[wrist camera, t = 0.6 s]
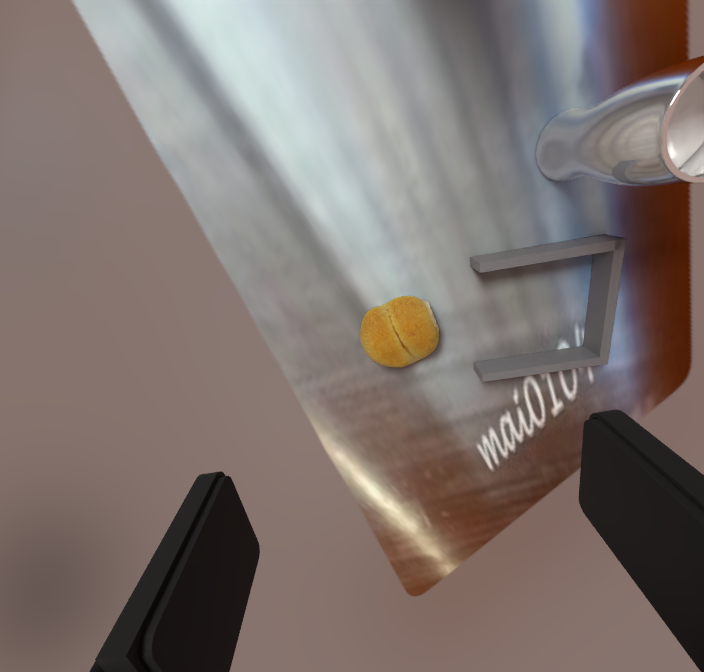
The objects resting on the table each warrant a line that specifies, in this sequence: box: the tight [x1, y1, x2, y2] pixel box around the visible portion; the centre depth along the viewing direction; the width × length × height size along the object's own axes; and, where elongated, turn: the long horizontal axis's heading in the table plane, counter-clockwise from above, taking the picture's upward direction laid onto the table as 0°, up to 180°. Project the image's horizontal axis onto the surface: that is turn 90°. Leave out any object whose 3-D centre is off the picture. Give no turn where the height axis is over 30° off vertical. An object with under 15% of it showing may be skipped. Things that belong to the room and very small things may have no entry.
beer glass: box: [536, 56, 704, 187], centre depth 26 cm, size 7×7×15 cm
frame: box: [470, 234, 626, 382], centre depth 38 cm, size 14×14×3 cm
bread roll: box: [360, 296, 439, 367], centre depth 39 cm, size 8×9×4 cm
